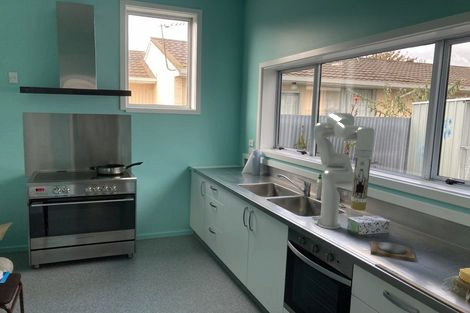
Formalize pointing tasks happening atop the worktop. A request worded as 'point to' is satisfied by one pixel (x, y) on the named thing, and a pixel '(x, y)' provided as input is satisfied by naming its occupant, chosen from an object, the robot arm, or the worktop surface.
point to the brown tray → (392, 251)
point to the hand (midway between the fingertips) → (359, 191)
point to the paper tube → (359, 198)
